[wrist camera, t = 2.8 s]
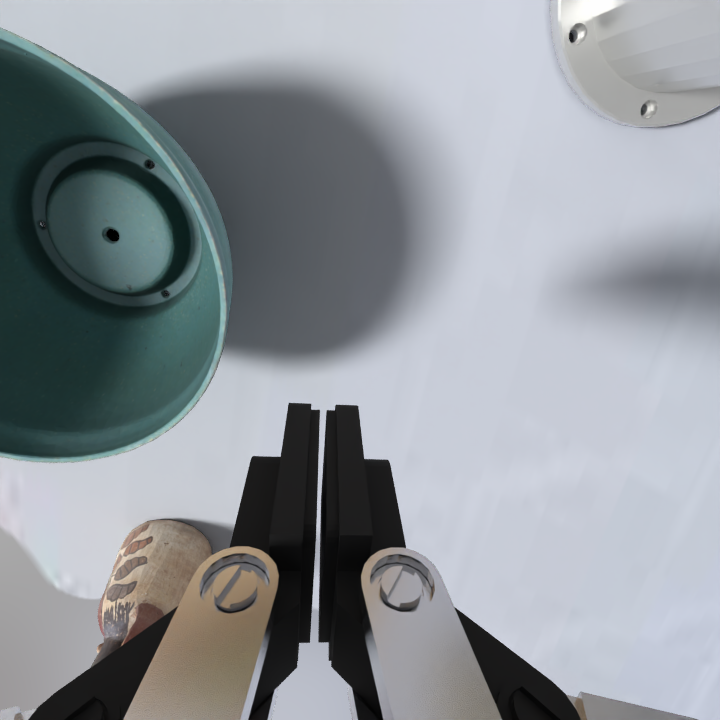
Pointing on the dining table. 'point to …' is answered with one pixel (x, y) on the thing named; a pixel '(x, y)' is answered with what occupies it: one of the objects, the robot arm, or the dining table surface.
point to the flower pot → (99, 267)
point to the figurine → (148, 579)
